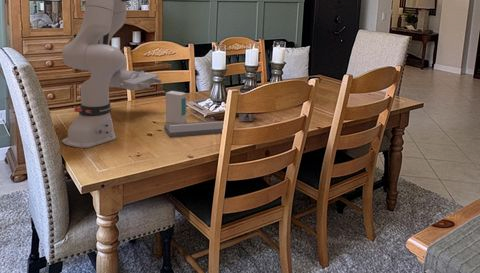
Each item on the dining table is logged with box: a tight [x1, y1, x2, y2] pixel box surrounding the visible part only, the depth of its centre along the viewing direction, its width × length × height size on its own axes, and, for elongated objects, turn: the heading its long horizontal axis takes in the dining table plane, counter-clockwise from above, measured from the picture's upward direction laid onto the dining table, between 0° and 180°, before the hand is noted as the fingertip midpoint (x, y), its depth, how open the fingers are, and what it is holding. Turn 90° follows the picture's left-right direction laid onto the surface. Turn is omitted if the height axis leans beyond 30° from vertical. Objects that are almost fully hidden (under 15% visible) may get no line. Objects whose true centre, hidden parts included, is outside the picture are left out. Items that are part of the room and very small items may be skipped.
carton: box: [165, 90, 187, 124], centre depth 232 cm, size 5×8×14 cm, turn 65°
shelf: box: [163, 120, 225, 138], centre depth 222 cm, size 25×12×5 cm, turn 110°
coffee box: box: [238, 84, 257, 122], centre depth 239 cm, size 9×6×16 cm
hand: (155, 83), depth 233 cm, fingers open, 8 cm apart
